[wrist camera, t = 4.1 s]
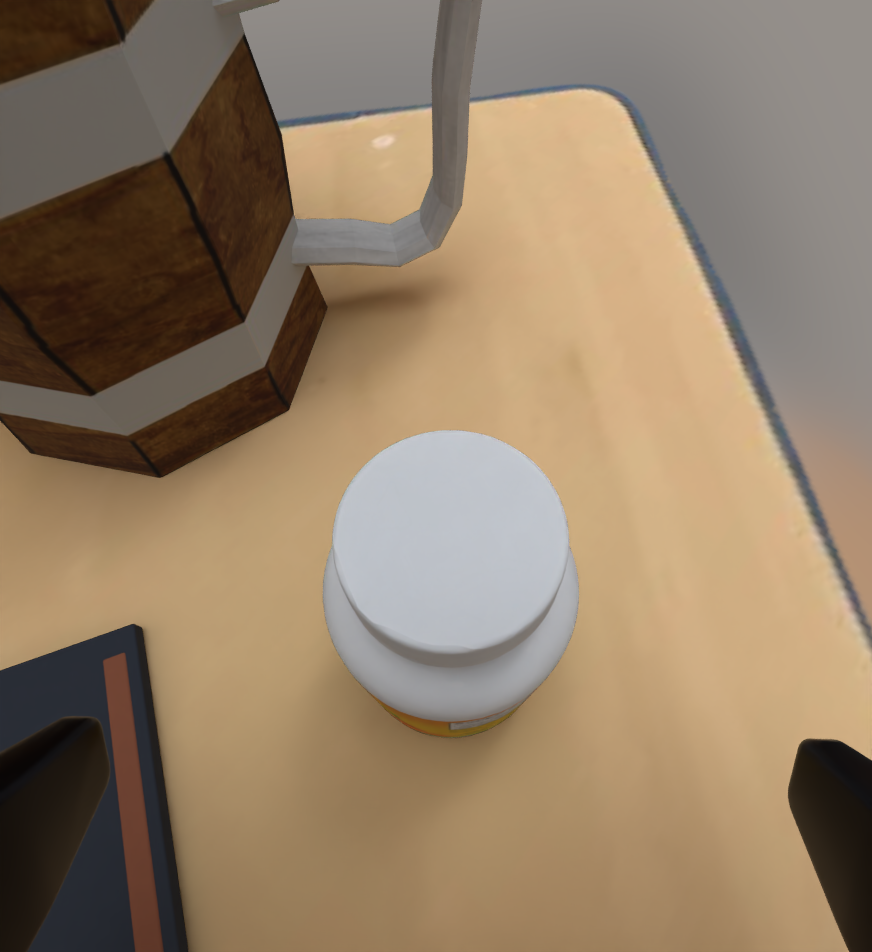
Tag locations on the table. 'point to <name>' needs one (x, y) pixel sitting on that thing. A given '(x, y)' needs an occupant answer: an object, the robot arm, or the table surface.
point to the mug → (171, 227)
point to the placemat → (106, 798)
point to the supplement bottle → (450, 581)
